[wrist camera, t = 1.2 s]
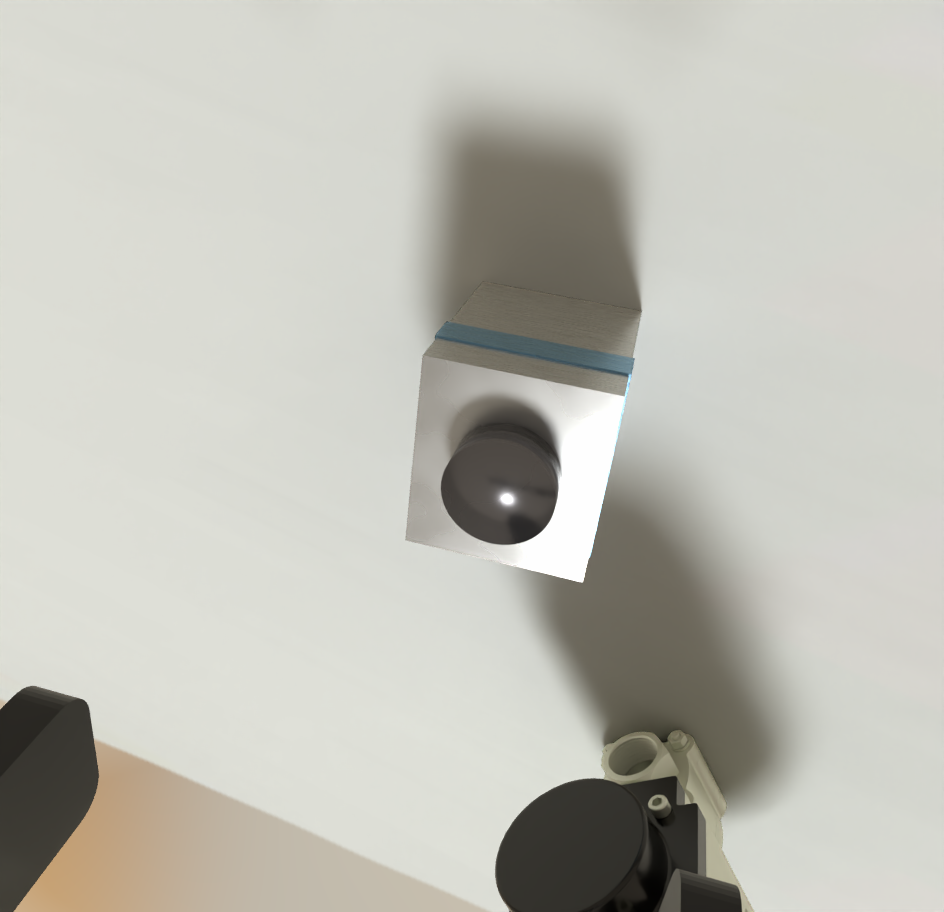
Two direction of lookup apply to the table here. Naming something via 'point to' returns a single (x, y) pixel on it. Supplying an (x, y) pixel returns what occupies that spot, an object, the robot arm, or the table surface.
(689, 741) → the pneumatic valve
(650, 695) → the table surface
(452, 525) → the grey box with knob
